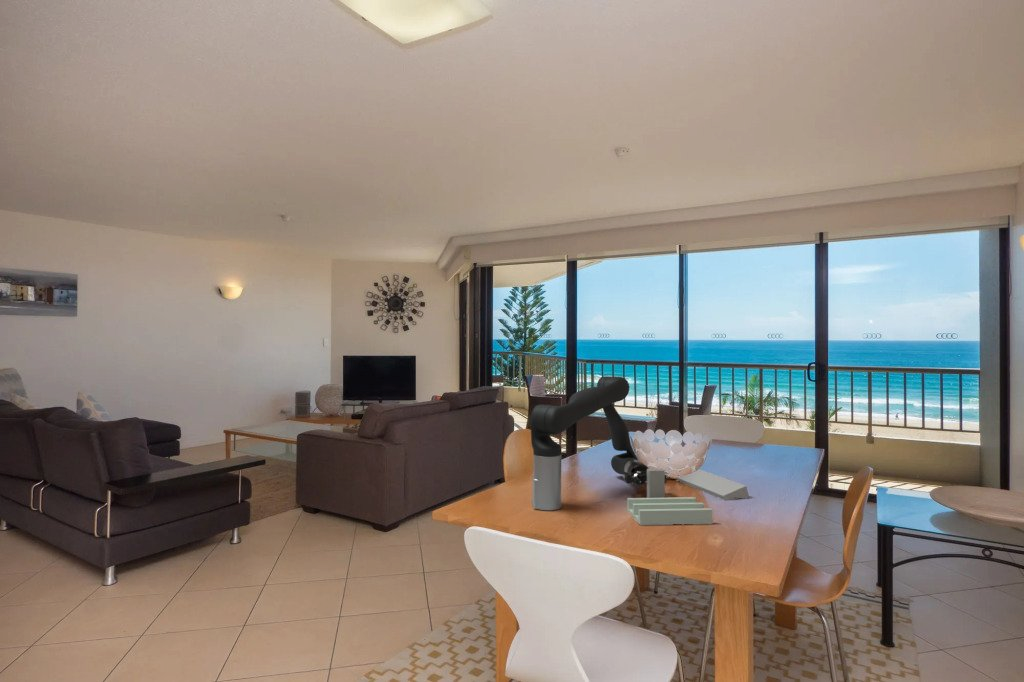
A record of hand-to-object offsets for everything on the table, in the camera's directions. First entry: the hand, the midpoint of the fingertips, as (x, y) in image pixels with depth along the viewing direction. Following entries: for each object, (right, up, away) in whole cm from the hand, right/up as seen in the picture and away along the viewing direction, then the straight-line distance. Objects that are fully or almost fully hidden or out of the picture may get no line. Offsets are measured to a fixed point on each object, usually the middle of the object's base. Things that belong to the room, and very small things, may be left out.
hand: (651, 482), depth 188 cm
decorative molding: (+25, -8, +20) cm, 33 cm away
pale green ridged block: (+1, -7, -16) cm, 18 cm away
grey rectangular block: (0, -7, -4) cm, 8 cm away
